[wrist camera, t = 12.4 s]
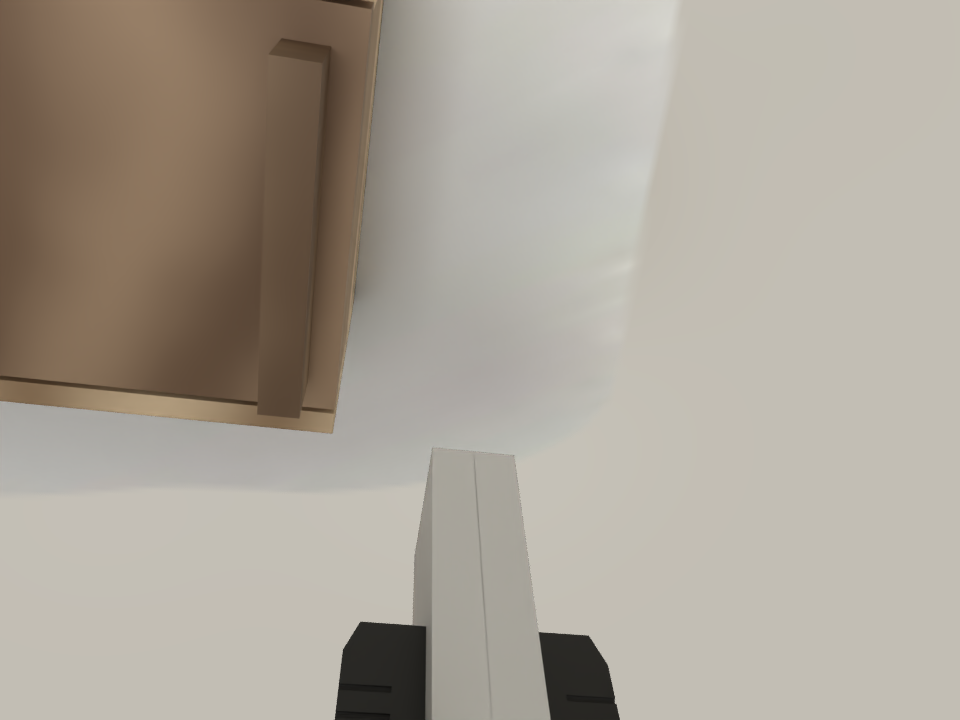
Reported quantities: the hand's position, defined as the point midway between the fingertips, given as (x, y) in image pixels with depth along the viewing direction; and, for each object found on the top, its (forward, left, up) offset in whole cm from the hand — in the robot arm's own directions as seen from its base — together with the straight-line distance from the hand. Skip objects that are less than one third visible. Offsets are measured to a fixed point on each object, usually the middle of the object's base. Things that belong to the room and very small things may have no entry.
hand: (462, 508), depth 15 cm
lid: (-13, +1, -11) cm, 17 cm away
